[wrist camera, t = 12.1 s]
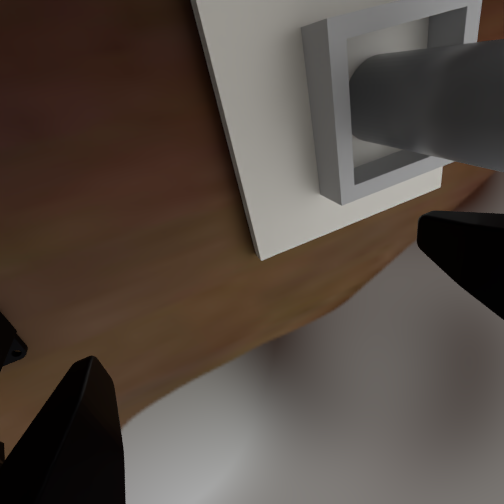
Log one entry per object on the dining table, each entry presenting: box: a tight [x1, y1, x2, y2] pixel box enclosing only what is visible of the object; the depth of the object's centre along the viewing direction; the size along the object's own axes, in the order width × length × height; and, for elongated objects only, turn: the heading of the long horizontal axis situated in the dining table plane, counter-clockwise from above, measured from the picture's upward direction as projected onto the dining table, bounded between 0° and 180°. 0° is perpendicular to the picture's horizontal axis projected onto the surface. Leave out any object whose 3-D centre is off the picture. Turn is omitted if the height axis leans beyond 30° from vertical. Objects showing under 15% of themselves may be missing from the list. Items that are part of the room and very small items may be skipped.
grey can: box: [349, 39, 504, 172], centre depth 15 cm, size 5×5×13 cm
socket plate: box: [191, 0, 482, 261], centre depth 19 cm, size 16×16×4 cm
